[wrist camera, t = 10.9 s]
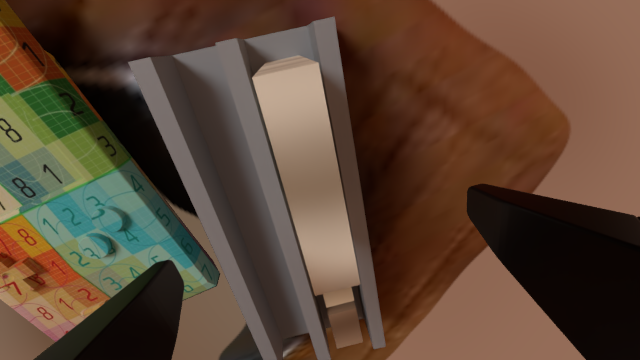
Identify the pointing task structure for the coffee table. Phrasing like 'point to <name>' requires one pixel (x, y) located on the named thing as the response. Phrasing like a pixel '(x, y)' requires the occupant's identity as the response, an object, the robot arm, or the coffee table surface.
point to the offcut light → (338, 297)
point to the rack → (258, 178)
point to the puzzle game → (73, 198)
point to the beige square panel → (308, 168)
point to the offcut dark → (345, 324)
